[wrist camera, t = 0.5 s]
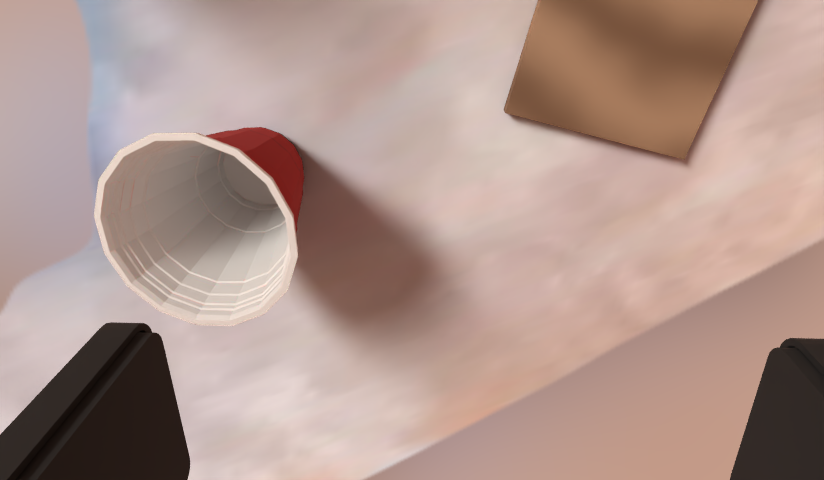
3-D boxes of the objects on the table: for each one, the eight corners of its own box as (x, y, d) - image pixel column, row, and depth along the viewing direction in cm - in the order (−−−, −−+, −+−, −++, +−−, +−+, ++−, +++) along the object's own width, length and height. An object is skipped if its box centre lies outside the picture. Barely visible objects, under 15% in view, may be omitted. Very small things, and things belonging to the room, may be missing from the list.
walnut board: (581, -139, 32) (585, -142, 31) (786, -80, 33) (795, -81, 32) (503, 109, 38) (505, 112, 37) (678, 155, 38) (684, 159, 38)
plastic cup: (180, 74, 38) (74, 116, 27) (345, 101, 38) (306, 154, 27) (182, 225, 42) (92, 313, 32) (329, 249, 43) (290, 344, 32)
